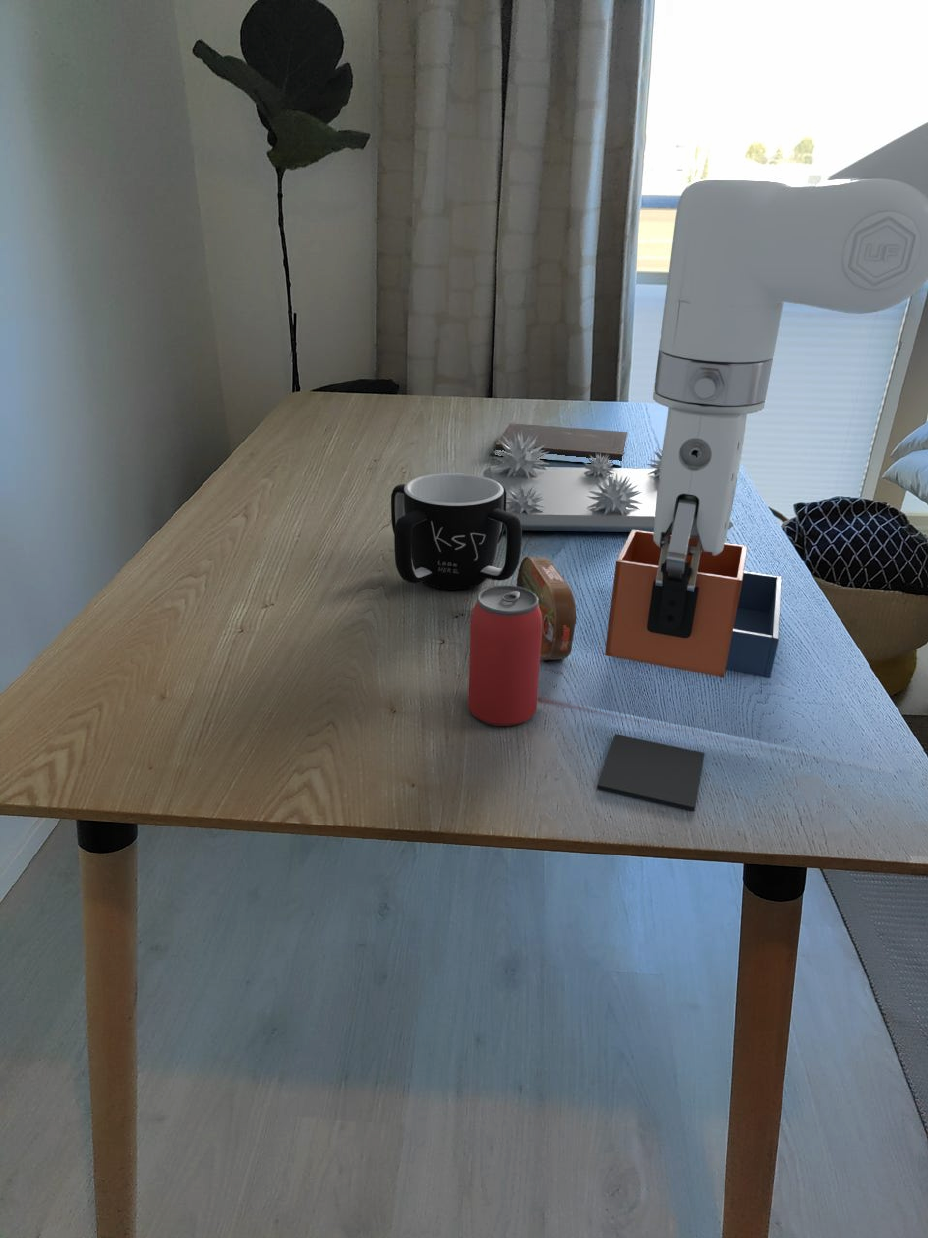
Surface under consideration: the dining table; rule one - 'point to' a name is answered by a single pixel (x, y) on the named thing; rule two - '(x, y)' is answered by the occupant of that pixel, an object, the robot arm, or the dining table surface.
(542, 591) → the tin
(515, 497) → the decorative tray
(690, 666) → the small bin
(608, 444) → the hardcover book
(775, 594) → the box
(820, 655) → the dining table surface
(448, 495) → the mug
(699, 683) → the dining table surface
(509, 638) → the beer can
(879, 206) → the robot arm
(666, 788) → the mat
